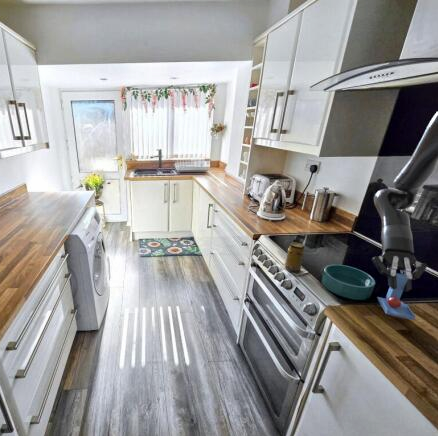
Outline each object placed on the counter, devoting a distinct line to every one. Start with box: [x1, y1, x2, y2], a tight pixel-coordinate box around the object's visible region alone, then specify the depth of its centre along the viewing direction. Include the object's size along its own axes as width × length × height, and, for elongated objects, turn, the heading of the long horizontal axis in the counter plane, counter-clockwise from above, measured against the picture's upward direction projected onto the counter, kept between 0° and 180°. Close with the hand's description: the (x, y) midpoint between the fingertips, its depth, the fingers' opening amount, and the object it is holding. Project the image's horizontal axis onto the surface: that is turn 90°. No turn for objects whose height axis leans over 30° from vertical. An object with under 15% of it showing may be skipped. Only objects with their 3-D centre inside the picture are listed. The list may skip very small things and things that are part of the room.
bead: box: [387, 297, 402, 308], centre depth 78 cm, size 3×3×3 cm
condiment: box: [280, 241, 309, 276], centre depth 105 cm, size 7×8×12 cm
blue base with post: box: [376, 272, 416, 321], centre depth 77 cm, size 8×7×11 cm
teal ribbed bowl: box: [321, 263, 376, 301], centre depth 93 cm, size 15×15×6 cm
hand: (400, 289), depth 77 cm, fingers closed on blue base with post, 2 cm apart
